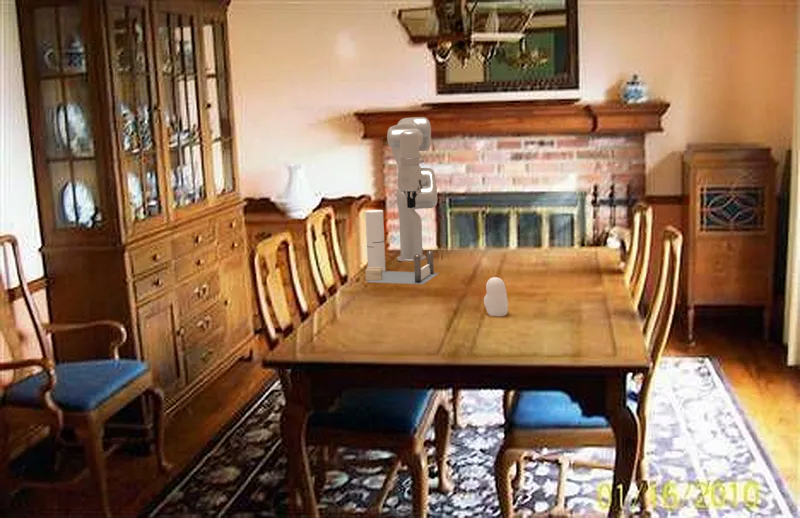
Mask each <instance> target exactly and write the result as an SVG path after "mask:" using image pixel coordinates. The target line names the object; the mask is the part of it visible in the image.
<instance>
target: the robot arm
mask: <svg viewBox="0 0 800 518" xmlns="http://www.w3.org/2000/svg"><path fill="white" fill-rule="evenodd" d="M386 135H387V136H386V137H387V138H386V140H387V144H388V146H389V147H390V148H391V152H392V155H393V158H394V160H395V162H396V164H397V188H398V190H397V191H396V196H395V197H396V202H397V203H396V204H397V209H398V219H399V243H400V244H399V245H400V246H399V247H400V255H397V257H396V259H397V261H399V262H414V256H415V255H420V257H421V260H420V261H423V260H427V255H425V254H423V250H424V248H423V233H422V232H423V228H422V226H423V225H422V224H423V223H422V218H421V216H420V214H419V213H418V212H417V211H416V210H419V209H420V210H422V209H433V208H435V207H436V206H437V204H438V190H437V188H438V187H437V179H436V178H437V177H436V173H435V171H434V169H432V168H430V167H422V166H421V165H420V152H426V151H428V150H430V148H431V144H432V143H431V142H432V141H431V140H432V126H431V123H430V120H429V119H428V118H427V117H425V116H424V117H423V116H421V117H419V116H417V117H416V116H415V117H404V118H401V119H400V120H399V121H398V122H397V124H396V125H392V126H389V128H388V130H387V134H386Z"/></svg>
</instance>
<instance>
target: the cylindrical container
mask: <svg viewBox="0 0 800 518" xmlns="http://www.w3.org/2000/svg"><path fill="white" fill-rule="evenodd" d="M364 212H365V215H364V216H365V233H366V234H365V235H366V255H367V257H366V259H367V267H382V272H384V271H386V250H385V248H386V247H385V228H384V227H385V226H384V224H385V223H384V210H382V209H368V210H365V211H364Z"/></svg>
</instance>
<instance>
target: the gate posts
mask: <svg viewBox="0 0 800 518" xmlns="http://www.w3.org/2000/svg"><path fill="white" fill-rule="evenodd" d="M421 261H422V260H421V257H420V255H415V256H414V261H413V268H414V271H413V272H415V283H421V268H422V267H421V266H422V265H421V263H422V262H421ZM427 264H430V274H434V273H435V271H434V269H435V268H434V250H427V251H426V265H427Z"/></svg>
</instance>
